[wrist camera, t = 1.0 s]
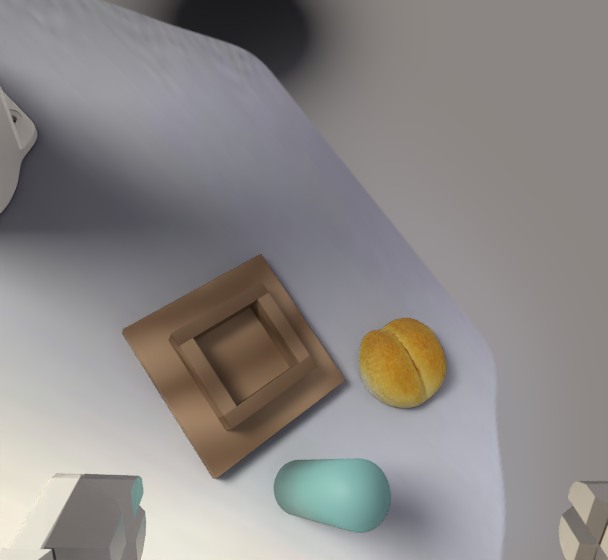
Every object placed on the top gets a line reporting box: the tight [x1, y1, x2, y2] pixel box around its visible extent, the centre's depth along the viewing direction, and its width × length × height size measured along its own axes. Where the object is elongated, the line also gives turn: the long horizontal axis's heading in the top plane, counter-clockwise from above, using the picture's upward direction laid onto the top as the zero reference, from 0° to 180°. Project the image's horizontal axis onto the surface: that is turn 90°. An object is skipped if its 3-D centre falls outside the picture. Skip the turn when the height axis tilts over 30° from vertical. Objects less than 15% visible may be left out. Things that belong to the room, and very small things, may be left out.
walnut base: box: [122, 254, 345, 478], centre depth 43 cm, size 14×14×4 cm
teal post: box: [274, 459, 390, 533], centre depth 38 cm, size 4×4×12 cm
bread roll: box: [359, 318, 447, 408], centre depth 49 cm, size 8×9×4 cm
